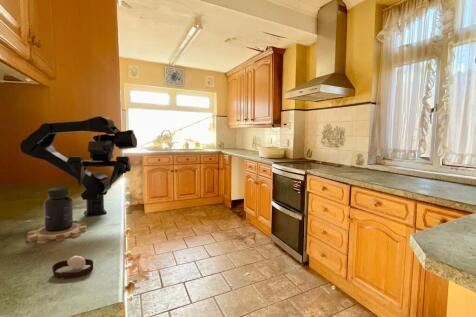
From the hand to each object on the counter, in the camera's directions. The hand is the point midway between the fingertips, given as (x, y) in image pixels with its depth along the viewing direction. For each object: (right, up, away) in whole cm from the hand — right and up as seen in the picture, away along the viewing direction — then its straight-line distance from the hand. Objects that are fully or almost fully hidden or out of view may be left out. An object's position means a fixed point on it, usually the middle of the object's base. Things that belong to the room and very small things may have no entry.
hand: (95, 184), depth 78 cm
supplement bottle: (-7, -13, -6) cm, 16 cm away
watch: (+11, -17, -27) cm, 33 cm away
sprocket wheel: (-8, -14, -6) cm, 17 cm away
